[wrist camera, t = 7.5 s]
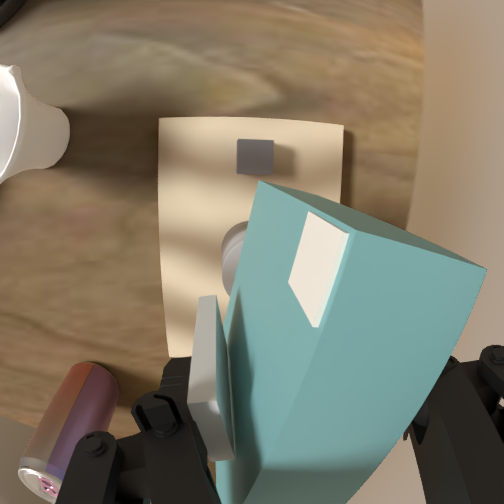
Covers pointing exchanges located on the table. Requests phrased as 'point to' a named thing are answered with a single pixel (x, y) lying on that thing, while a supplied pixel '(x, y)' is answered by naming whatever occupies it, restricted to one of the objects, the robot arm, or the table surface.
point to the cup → (27, 128)
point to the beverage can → (68, 426)
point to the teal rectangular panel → (331, 345)
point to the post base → (226, 199)
